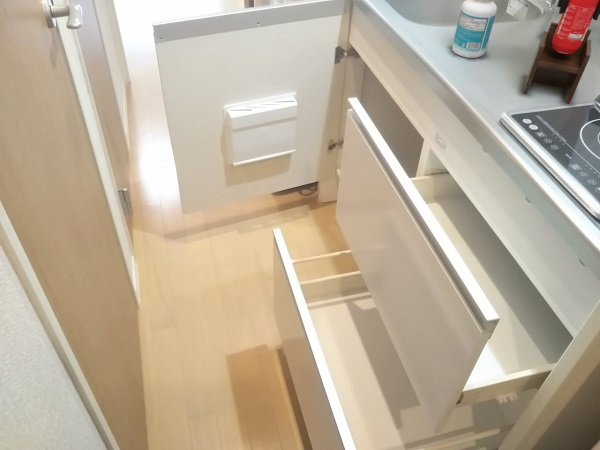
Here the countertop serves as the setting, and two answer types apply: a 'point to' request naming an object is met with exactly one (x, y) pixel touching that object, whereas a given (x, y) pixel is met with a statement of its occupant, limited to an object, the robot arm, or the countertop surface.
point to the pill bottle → (474, 28)
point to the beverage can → (573, 25)
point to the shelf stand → (558, 64)
